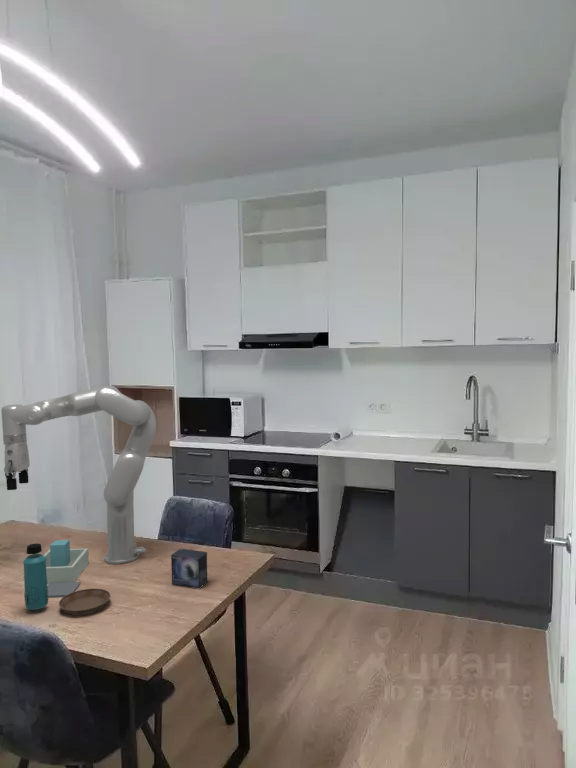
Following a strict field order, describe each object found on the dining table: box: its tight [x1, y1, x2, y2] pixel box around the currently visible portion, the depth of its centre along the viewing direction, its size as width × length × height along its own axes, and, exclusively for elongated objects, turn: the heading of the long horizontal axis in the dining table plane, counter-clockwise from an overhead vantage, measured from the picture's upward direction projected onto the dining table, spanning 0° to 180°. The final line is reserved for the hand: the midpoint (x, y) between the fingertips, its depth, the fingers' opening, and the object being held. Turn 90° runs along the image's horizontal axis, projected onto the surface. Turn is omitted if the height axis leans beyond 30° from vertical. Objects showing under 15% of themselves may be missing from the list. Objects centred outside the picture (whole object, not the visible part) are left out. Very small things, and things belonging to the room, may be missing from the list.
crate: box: [43, 548, 90, 585], centre depth 195 cm, size 14×18×6 cm
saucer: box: [58, 588, 111, 616], centre depth 170 cm, size 15×15×3 cm
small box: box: [170, 548, 208, 589], centre depth 186 cm, size 11×6×10 cm, turn 70°
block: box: [49, 539, 71, 567], centre depth 195 cm, size 5×5×8 cm
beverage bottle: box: [22, 542, 49, 611], centre depth 167 cm, size 6×7×20 cm
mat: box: [47, 581, 82, 599], centre depth 181 cm, size 10×10×1 cm
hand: (18, 486), depth 201 cm, fingers open, 9 cm apart
